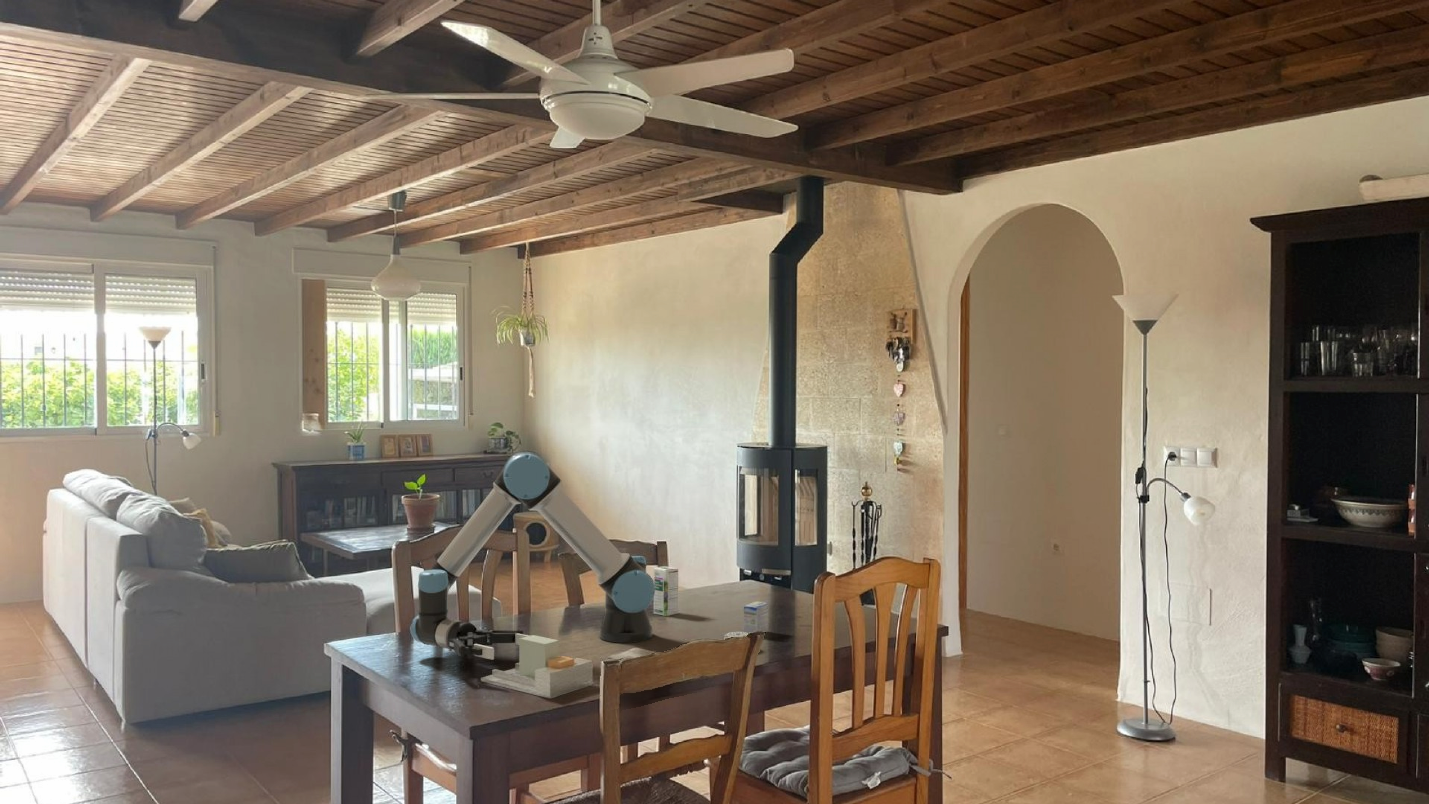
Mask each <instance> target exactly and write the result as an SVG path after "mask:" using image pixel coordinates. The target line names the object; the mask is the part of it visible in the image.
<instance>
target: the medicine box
mask: <svg viewBox="0 0 1429 804" xmlns="http://www.w3.org/2000/svg"><path fill="white" fill-rule="evenodd" d="M769 604H770V603H768V602H765V601H753V602H751V603H748V604H746V605H744V606H743V632H747V633H749V632H754V631H764V632H766V633H767V632H769V617H770V615H769V614H770V613H769V610H770V608H769V606H770V605H769Z"/></svg>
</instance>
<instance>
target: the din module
mask: <svg viewBox="0 0 1429 804" xmlns="http://www.w3.org/2000/svg"><path fill="white" fill-rule="evenodd" d="M518 647H519V649H518V650H519V653H518V654H519V656H518V657H519V659H518V660H519V661H518V663H519V675H522V676H526V677H530V678H534V679H535V670H537V669H541V668H544V667H547V666H548V660H550V659H554V658H557V657H560V640H558V639H553V638H550V637H549V638H548V637H544V636H540V635H534V634H532V635H528V636H527V637H523V638H519V645H518Z"/></svg>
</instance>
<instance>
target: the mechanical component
mask: <svg viewBox="0 0 1429 804" xmlns="http://www.w3.org/2000/svg"><path fill="white" fill-rule="evenodd" d="M746 635H748V633H747V632H744V631H731V632H727V633H725V634H724V637H723V638H724V639H725V638H731V637H743V636H746Z"/></svg>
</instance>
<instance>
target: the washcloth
mask: <svg viewBox="0 0 1429 804" xmlns="http://www.w3.org/2000/svg"><path fill="white" fill-rule="evenodd" d="M654 652H655V651H654V650H649V649H644V648H640V647H632V648H630V649H628V650H626V651H618V652H616V653H613V654H610V655H609V656H607V658H606V659H607V660H608V659H618V660H621V659H626V658H636V657H640V656H642V655H649V654H650V653H654Z"/></svg>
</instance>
